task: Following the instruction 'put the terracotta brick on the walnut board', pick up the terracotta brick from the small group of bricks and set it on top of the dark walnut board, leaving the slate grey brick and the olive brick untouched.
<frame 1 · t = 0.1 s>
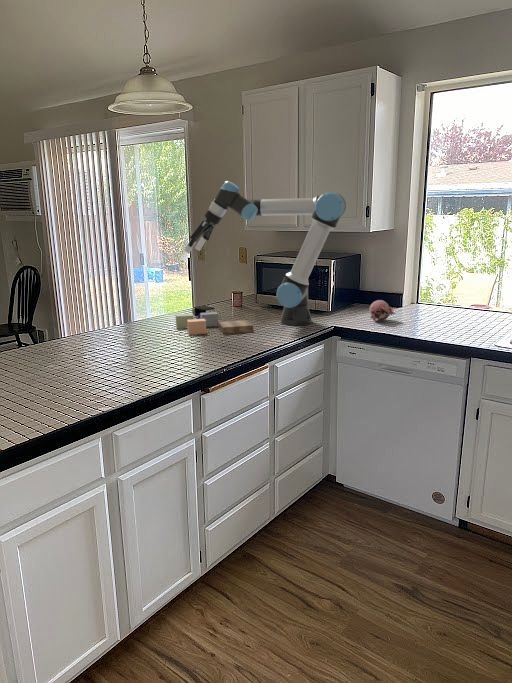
hand: (191, 250, 248), 36 cm above the counter, tool tilted 35°, fingers open, 13 cm apart
toy: (381, 322, 256), on the counter
grey brick: (209, 325, 255), on the counter
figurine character: (203, 320, 267), on the counter
olive brick: (184, 327, 252), on the counter
walnut board: (235, 329, 244), on the counter
terracotta brick: (197, 333, 240), on the counter
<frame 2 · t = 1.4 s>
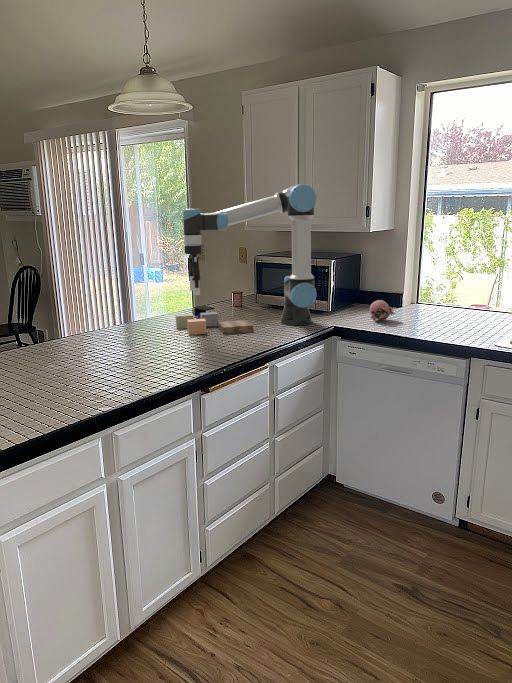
hand: (195, 292, 235), 18 cm above the counter, tool pointing down, fingers open, 13 cm apart
nothing on the counter moved.
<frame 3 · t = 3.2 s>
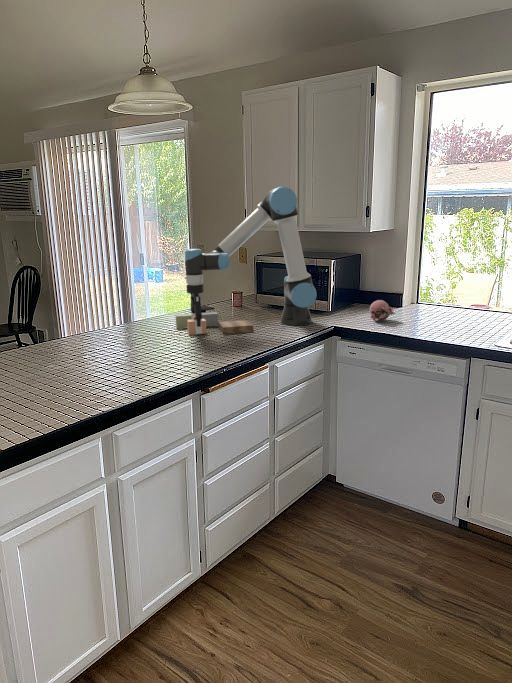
hand: (196, 330, 239), 1 cm above the counter, tool pointing down, fingers open, 13 cm apart
nothing on the counter moved.
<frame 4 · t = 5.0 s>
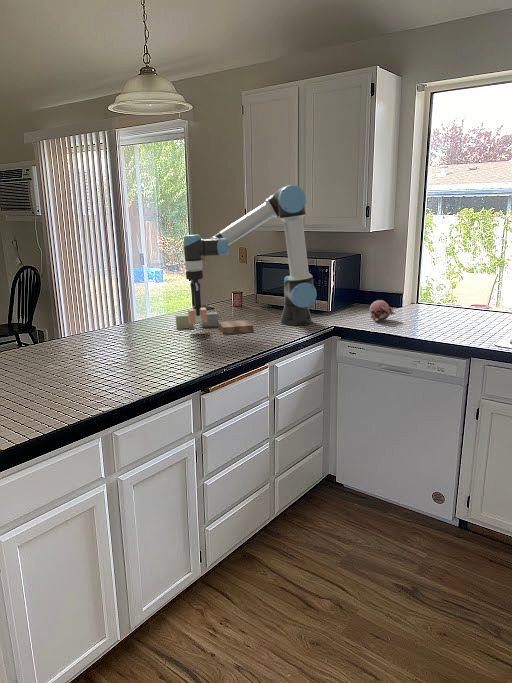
hand: (197, 321, 238), 5 cm above the counter, tool pointing down, fingers closed on terracotta brick, 5 cm apart
terracotta brick: (198, 322, 239), point 5 cm above the counter, touching gripper
everything else where it was.
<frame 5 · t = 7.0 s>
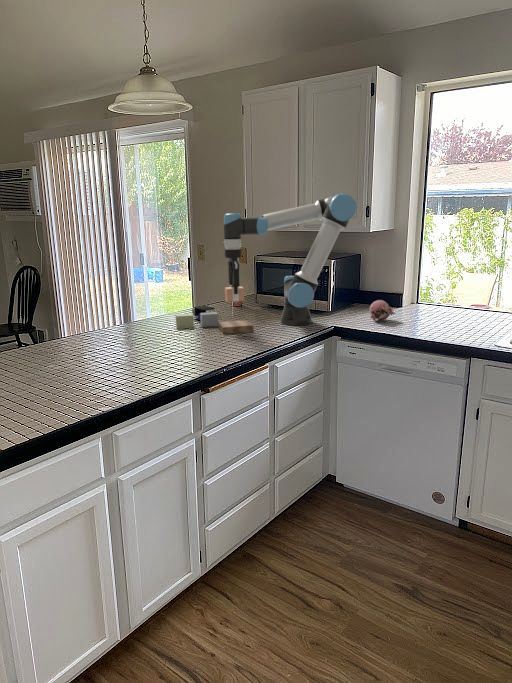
hand: (234, 299, 240), 14 cm above the counter, tool pointing down, fingers closed on terracotta brick, 5 cm apart
terracotta brick: (234, 300, 240), point 14 cm above the counter, touching gripper
everything else where it was.
when the fingers open (4 cm above the counter, at t = 9.0 s): terracotta brick stays where it is, resting on walnut board.
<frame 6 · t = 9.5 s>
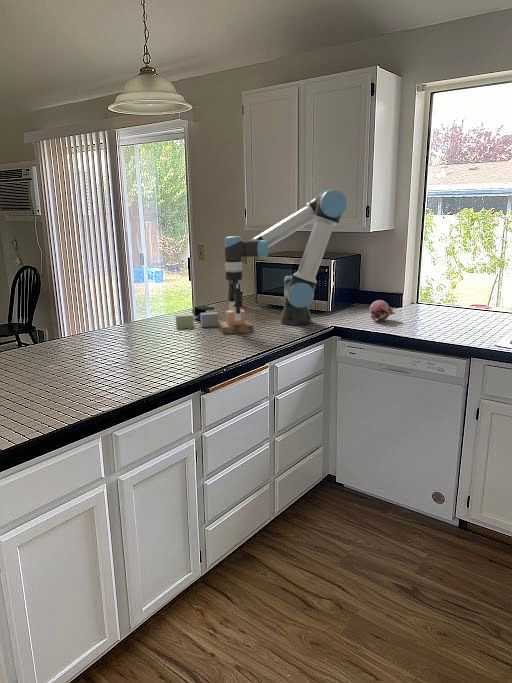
hand: (235, 317, 242), 6 cm above the counter, tool pointing down, fingers open, 12 cm apart
terracotta brick: (235, 323, 243), point 3 cm above the counter, touching walnut board
everything else where it was.
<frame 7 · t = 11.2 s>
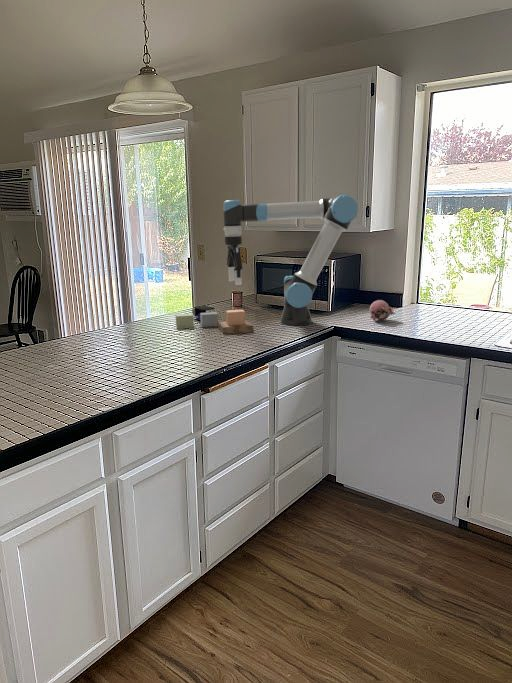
hand: (235, 283, 240), 22 cm above the counter, tool pointing down, fingers open, 13 cm apart
nothing on the counter moved.
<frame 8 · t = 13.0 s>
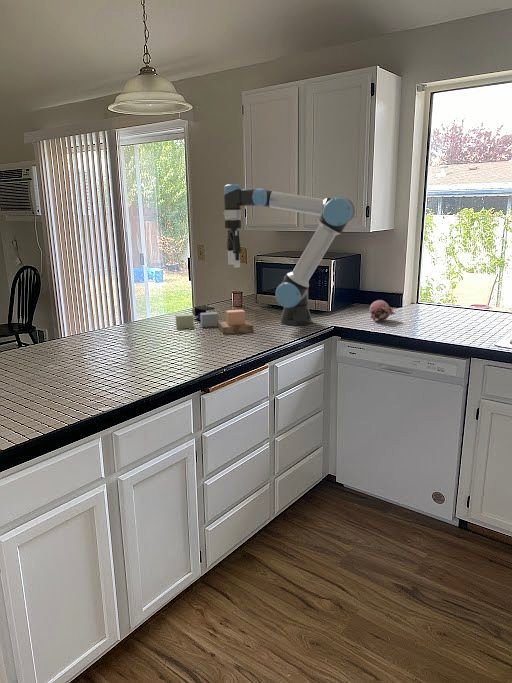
hand: (234, 266, 246), 29 cm above the counter, tool pointing down, fingers open, 13 cm apart
nothing on the counter moved.
at the end: terracotta brick inside the target area on the walnut board (0.2 cm from its centre), point 3.0 cm above the walnut board's base; grey brick moved 0.1 cm from its start; olive brick moved 0.1 cm from its start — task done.
